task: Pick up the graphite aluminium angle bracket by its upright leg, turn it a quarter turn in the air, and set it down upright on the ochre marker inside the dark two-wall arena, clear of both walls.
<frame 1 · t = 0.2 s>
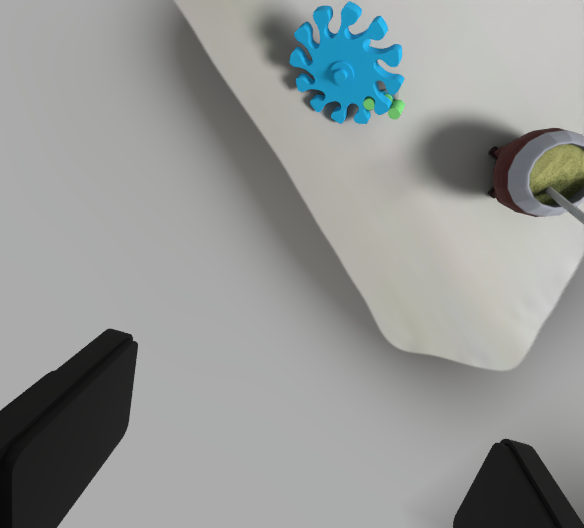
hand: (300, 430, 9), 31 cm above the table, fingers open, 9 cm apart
blue toy cog wheel: (348, 81, 35), on the table
mate gourd: (515, 174, 36), on the table
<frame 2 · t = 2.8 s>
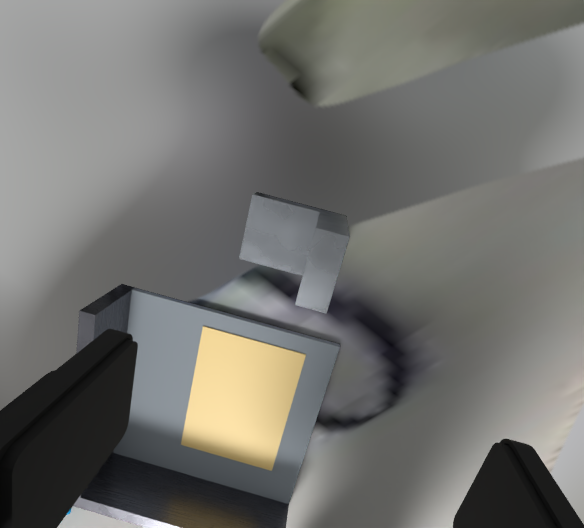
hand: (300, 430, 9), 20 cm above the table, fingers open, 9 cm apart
bracket: (293, 235, 29), on the table
arena: (217, 401, 34), on the table
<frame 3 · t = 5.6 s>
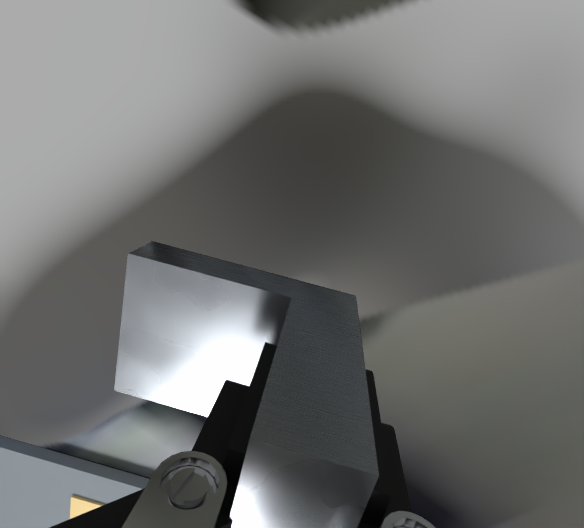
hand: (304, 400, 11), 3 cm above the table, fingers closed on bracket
bracket: (238, 333, 13), on the table, touching gripper
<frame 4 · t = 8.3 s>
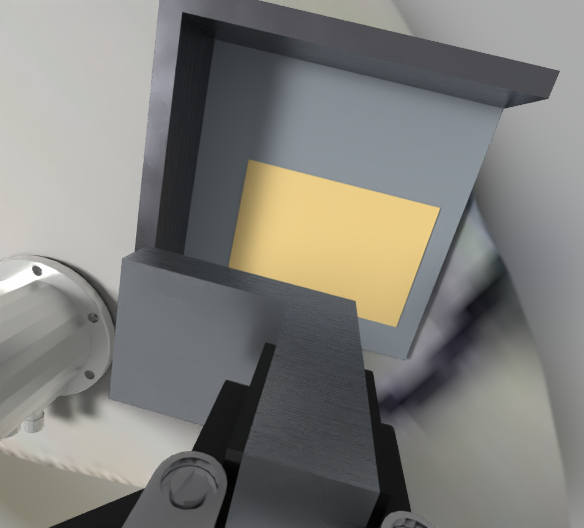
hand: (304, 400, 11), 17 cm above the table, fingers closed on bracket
bracket: (236, 339, 13), point 15 cm above the table, touching gripper
arena: (319, 214, 26), on the table
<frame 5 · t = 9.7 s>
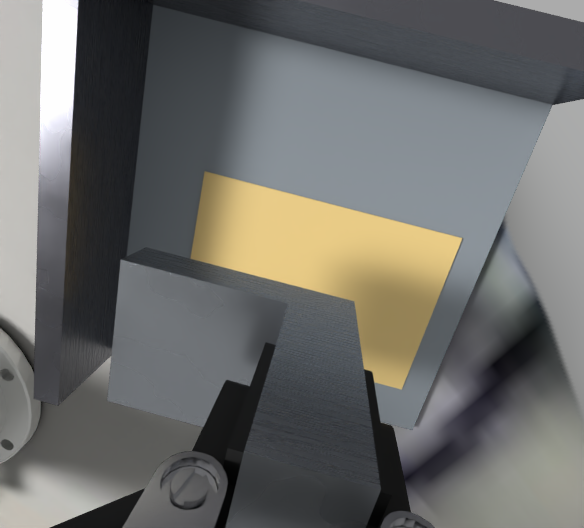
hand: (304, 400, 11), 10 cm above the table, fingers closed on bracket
bracket: (235, 340, 13), point 8 cm above the table, touching gripper
arena: (301, 244, 20), on the table
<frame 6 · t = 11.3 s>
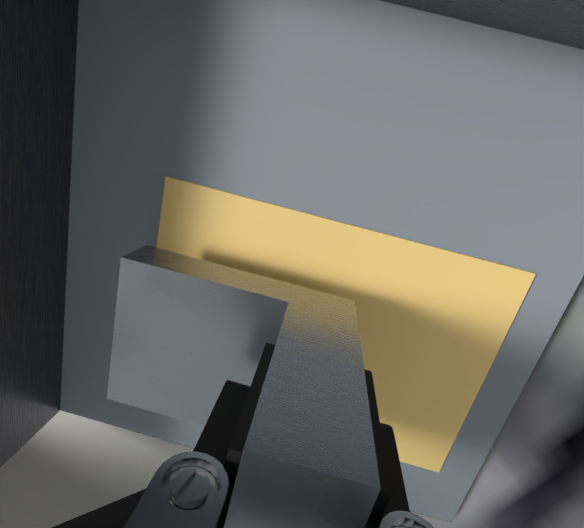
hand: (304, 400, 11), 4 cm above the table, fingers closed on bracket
bracket: (234, 339, 13), point 2 cm above the table, touching gripper
arena: (302, 277, 14), on the table
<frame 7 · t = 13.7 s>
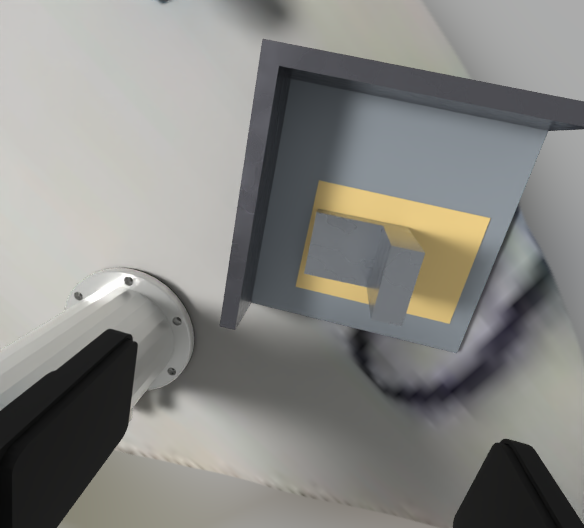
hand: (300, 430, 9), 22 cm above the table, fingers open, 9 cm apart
bracket: (354, 247, 30), point 1 cm above the table, touching arena
arena: (380, 226, 29), on the table
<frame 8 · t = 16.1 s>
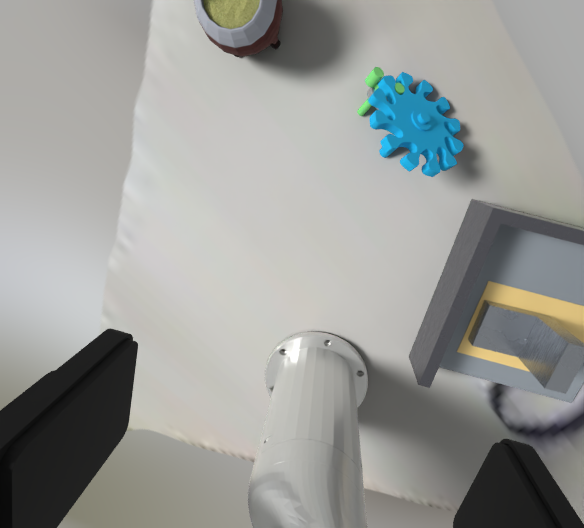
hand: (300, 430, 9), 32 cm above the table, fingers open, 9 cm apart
blue toy cog wheel: (405, 122, 37), on the table
bracket: (507, 327, 41), point 1 cm above the table, touching arena
mate gourd: (250, 21, 36), on the table
arena: (526, 312, 41), on the table
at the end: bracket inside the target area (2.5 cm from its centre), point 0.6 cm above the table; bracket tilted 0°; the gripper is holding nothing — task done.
